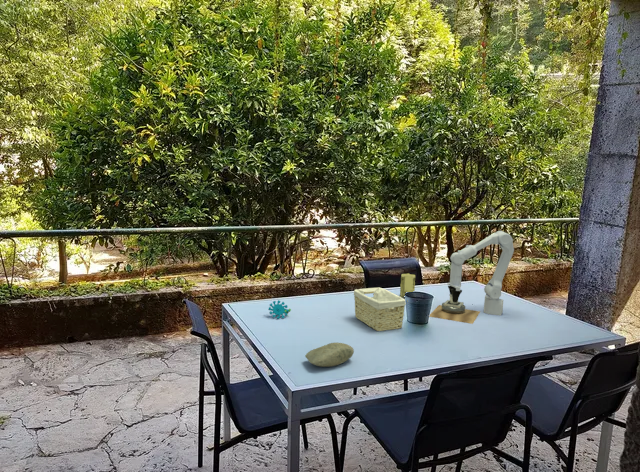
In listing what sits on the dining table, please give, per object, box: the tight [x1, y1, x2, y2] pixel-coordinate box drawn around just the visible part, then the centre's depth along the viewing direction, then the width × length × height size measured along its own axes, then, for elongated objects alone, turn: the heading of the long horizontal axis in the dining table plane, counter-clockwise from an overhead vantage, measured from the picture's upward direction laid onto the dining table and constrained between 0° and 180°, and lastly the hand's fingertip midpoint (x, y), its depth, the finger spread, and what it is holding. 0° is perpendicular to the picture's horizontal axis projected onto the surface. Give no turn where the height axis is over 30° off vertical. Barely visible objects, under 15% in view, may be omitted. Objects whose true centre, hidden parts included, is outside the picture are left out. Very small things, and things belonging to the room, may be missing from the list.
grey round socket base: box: [441, 299, 466, 314], centre depth 274 cm, size 12×12×4 cm
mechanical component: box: [399, 272, 416, 298], centre depth 298 cm, size 8×17×20 cm, turn 175°
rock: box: [304, 342, 355, 368], centre depth 201 cm, size 8×11×20 cm
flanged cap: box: [449, 293, 459, 304], centre depth 274 cm, size 5×5×4 cm
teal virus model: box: [268, 299, 292, 320], centre depth 257 cm, size 11×6×10 cm
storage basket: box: [353, 287, 407, 332], centre depth 252 cm, size 24×16×15 cm
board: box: [428, 304, 482, 325], centre depth 270 cm, size 22×24×1 cm
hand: (453, 300), depth 274 cm, fingers closed on flanged cap, 4 cm apart
